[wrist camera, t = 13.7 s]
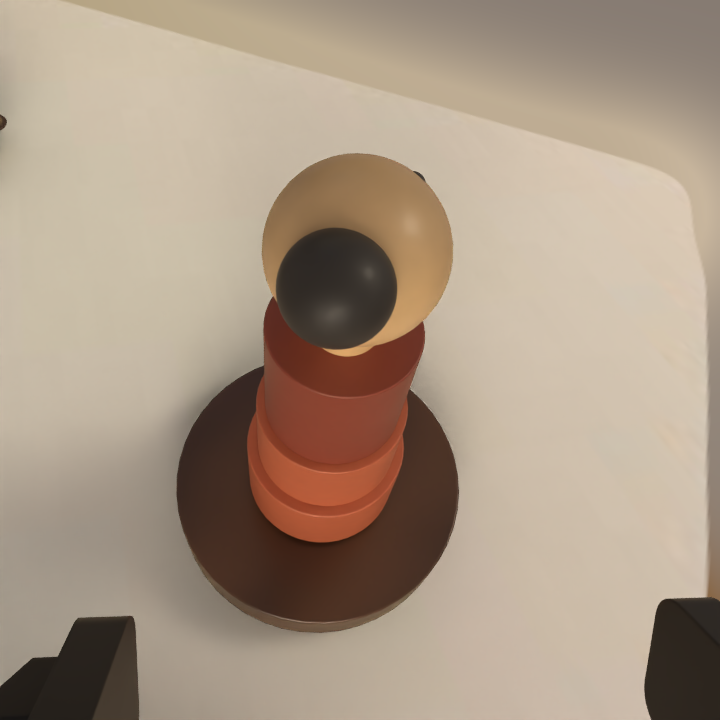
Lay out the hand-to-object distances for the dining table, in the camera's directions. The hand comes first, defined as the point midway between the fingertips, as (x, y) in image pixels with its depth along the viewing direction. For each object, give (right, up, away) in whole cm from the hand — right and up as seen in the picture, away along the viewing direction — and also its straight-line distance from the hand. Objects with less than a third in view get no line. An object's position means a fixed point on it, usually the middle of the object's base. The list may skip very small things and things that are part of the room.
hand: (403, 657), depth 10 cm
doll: (-2, 0, +18) cm, 18 cm away
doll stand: (-3, -1, +20) cm, 20 cm away
